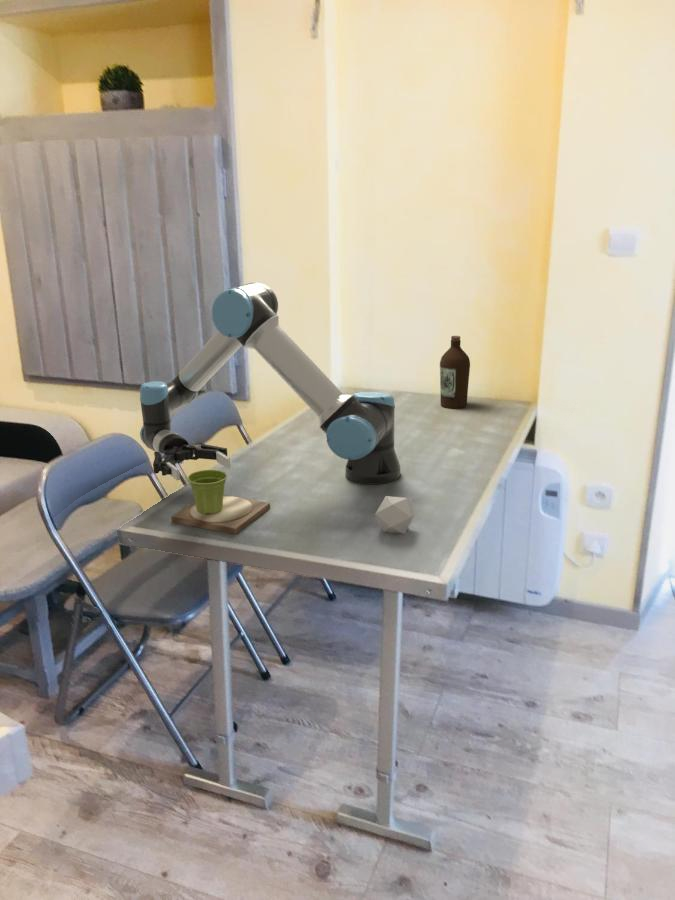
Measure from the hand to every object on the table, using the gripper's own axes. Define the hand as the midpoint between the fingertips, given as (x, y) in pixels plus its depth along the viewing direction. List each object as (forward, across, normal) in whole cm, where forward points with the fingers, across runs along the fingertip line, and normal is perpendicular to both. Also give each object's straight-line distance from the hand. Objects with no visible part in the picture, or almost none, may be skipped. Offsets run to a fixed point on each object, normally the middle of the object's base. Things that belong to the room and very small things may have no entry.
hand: (204, 469), depth 187 cm
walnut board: (+9, 0, -9) cm, 13 cm away
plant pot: (+8, +2, -8) cm, 11 cm away
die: (+40, -29, -10) cm, 50 cm away
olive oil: (-30, -110, -10) cm, 115 cm away
